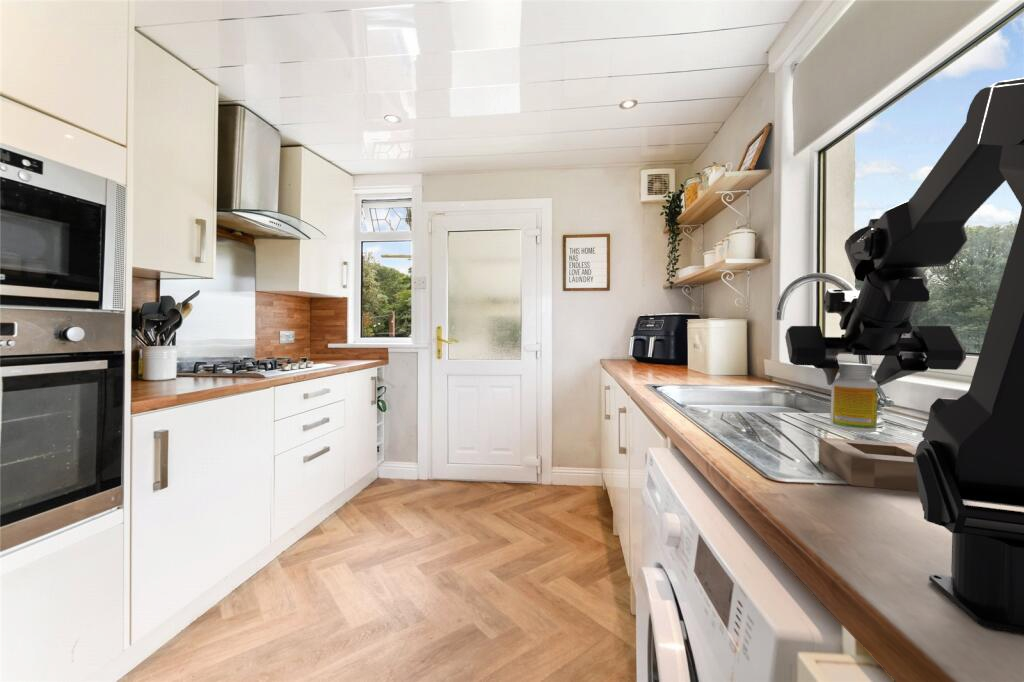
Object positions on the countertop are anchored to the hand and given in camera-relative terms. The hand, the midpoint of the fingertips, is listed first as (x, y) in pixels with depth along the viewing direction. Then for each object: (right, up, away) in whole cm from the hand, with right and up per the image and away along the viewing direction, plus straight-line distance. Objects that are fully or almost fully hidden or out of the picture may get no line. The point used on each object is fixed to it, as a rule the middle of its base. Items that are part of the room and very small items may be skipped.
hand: (851, 383), depth 65 cm
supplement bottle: (-1, -7, -1) cm, 7 cm away
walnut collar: (+4, -14, -1) cm, 14 cm away
